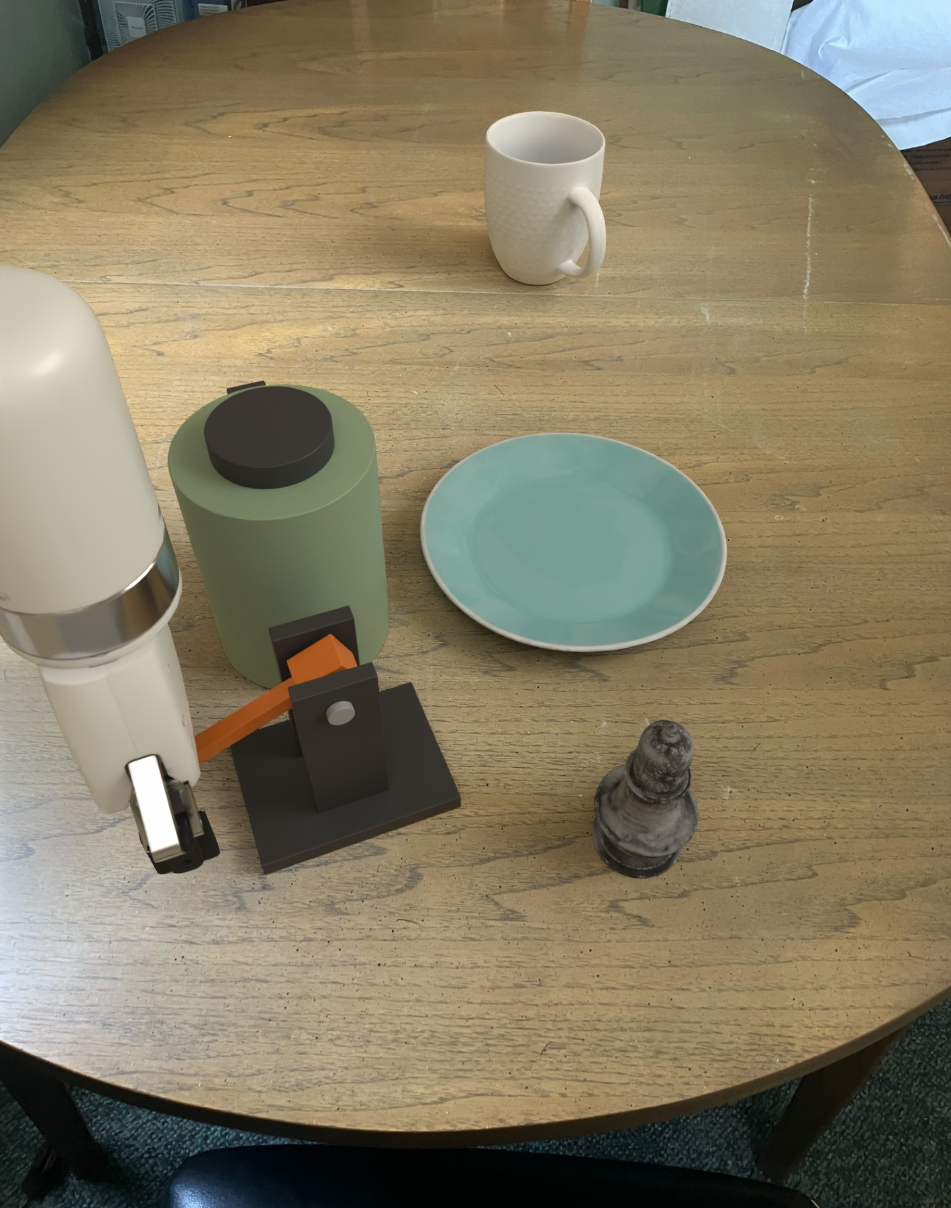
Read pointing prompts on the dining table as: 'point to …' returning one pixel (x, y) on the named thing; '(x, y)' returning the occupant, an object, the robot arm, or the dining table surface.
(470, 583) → the plate
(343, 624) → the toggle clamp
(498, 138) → the mug
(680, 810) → the chess piece
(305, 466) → the green canister
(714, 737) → the dining table surface
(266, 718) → the orange pivot lever
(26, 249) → the dining table surface
